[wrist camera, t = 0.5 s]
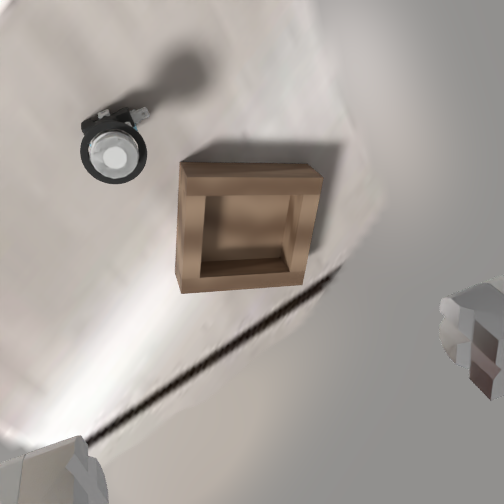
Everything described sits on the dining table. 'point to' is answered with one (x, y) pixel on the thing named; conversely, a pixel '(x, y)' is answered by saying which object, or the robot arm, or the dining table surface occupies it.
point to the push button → (114, 146)
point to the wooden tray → (244, 225)
